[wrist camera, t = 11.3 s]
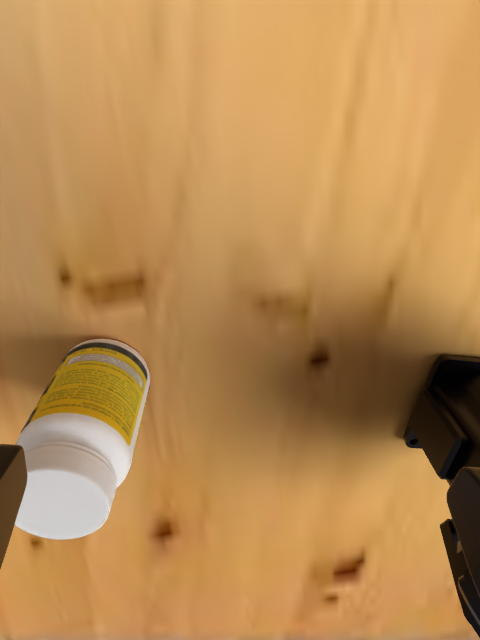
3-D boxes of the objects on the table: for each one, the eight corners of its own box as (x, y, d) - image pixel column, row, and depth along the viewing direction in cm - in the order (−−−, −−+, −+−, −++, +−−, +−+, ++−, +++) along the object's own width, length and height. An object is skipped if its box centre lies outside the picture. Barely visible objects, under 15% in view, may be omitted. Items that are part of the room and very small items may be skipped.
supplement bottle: (55, 334, 22) (-29, 460, 14) (148, 336, 22) (112, 459, 15) (69, 407, 24) (3, 548, 17) (153, 408, 24) (125, 546, 17)
